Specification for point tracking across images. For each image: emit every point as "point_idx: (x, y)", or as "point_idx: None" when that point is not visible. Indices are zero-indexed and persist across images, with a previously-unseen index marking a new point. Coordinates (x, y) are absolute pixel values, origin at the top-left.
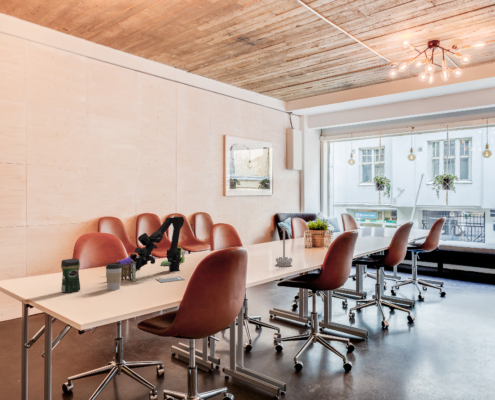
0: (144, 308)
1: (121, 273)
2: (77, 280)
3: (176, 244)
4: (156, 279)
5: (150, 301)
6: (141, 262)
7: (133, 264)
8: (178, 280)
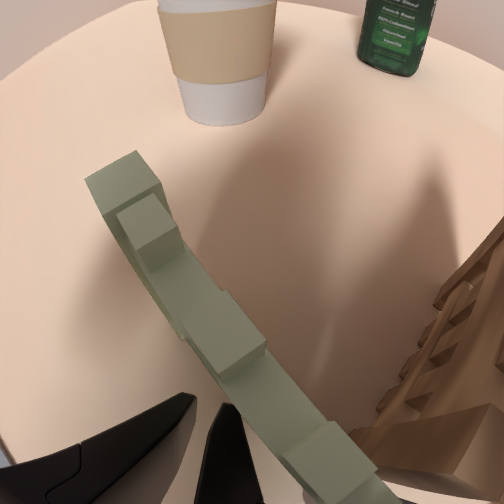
0: (30, 59)
1: (448, 331)
2: (365, 12)
3: None
4: (6, 456)
5: (14, 85)
6: (7, 491)
7: (315, 430)
8: None
